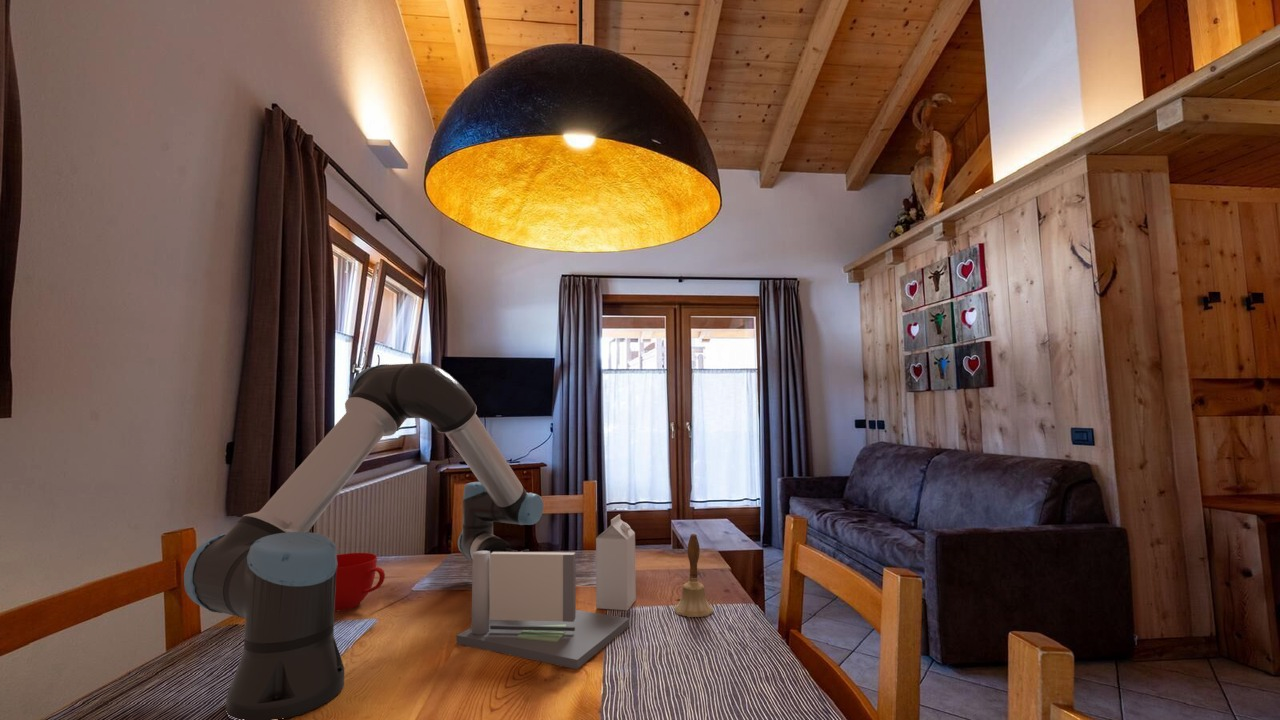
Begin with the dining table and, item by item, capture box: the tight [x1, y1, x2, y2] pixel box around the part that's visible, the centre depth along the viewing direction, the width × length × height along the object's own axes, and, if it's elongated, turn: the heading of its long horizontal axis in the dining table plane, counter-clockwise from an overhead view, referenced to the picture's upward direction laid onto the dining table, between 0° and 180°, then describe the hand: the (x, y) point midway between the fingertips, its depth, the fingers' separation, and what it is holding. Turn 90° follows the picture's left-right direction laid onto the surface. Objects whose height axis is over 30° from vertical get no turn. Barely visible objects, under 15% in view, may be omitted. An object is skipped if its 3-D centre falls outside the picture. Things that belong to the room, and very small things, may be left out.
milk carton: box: [595, 513, 637, 611], centre depth 123 cm, size 7×7×19 cm
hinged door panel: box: [471, 551, 577, 635], centre depth 104 cm, size 20×3×14 cm, turn 85°
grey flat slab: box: [455, 609, 630, 670], centre depth 106 cm, size 20×26×2 cm
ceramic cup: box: [334, 552, 386, 612], centre depth 123 cm, size 13×17×10 cm
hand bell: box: [674, 533, 714, 618], centre depth 119 cm, size 8×8×16 cm
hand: (532, 575), depth 114 cm, fingers closed
